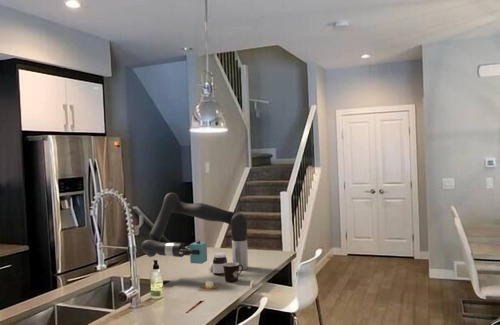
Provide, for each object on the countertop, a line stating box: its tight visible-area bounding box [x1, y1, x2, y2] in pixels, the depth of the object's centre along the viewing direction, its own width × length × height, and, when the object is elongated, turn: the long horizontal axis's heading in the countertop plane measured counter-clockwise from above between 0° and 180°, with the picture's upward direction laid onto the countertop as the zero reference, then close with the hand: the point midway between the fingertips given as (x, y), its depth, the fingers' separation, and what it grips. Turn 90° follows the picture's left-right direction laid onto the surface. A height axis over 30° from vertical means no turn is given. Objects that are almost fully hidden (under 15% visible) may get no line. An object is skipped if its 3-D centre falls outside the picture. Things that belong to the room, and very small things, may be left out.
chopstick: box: [185, 300, 205, 314], centre depth 201 cm, size 2×24×1 cm, turn 161°
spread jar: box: [208, 252, 228, 276], centre depth 254 cm, size 12×11×12 cm
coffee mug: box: [223, 261, 244, 284], centre depth 234 cm, size 12×9×10 cm
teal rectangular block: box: [189, 240, 208, 265], centre depth 234 cm, size 7×7×11 cm
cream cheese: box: [204, 280, 214, 289], centre depth 222 cm, size 4×4×3 cm
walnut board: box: [197, 284, 222, 292], centre depth 222 cm, size 10×10×1 cm
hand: (202, 251), depth 233 cm, fingers closed on teal rectangular block, 6 cm apart
